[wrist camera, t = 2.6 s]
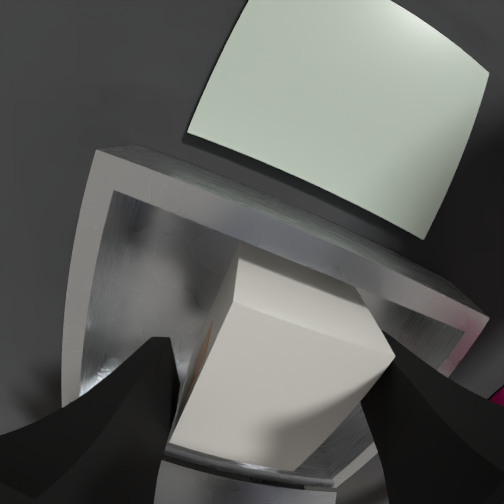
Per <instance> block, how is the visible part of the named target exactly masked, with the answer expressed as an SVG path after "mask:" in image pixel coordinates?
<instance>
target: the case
mask: <svg viewBox="0 0 504 504" xmlns="http://www.w3.org/2000/svg"><path fill="white" fill-rule="evenodd" d="M240 240H242V241H244V242H247V243H249V244H251V245H254V246H256V247H259V248H261V249H264V250H266V251H269V252H271V253H274V254H276V255H279V256H281V257H284V258H286V259H289V260H291V261H294V262H296V263H299V264H301V265H304V266H306V267H309V268H311V269H313V270H316V271H318V272H321V273H323V274H326V275H328V276H331V277H333V278H336V279H338V280H341V281H343V282H345V283H348V284H350V285H353V286H355V288H356V289H357V291H358V293H359V294H360V296H361V298H362V299H363V301H364V302H365V304H366V306H367V308H368V309H369V311H370V313H371V314H372V316H373V318H374V319H375V321H376V323H377V324H378V326H379V328H380V330H383V331H384V332H386V333H387V334H389V335H390V336H392V337H393V338H394V339H396V340H397V341H398V342H399V343H401V344H402V345H403V346H405V347H406V348H407V349H408V350H410V351H411V352H412V353H414V354H415V355H416V356H418V357H419V358H420V359H422V360H423V361H424V362H426V363H427V364H428V365H430V366H431V367H433V368H434V369H435V370H437V371H438V372H440V373H441V374H443V375H444V376H446V377H447V378H448V377H449V375H450V374H451V373H452V372H453V370H454V369H455V368H456V366H457V365H458V364H459V362H460V361H461V360H462V358H463V357H464V356H465V354H466V353H467V352H468V350H469V349H470V347H471V346H472V344H473V343H474V342H475V340H476V339H477V337H478V336H479V334H480V333H481V331H482V330H483V328H484V327H485V325H486V324H487V322H488V320H489V319H490V318H489V317H488V316H487V315H486V314H485V313H484V312H483V311H482V310H481V309H480V308H479V307H478V306H477V305H476V304H475V303H473V302H472V301H471V300H470V299H469V298H468V297H467V296H466V295H465V294H464V293H462V292H461V291H460V290H459V289H458V288H457V287H456V286H455V285H454V284H452V283H451V282H450V281H449V280H447V279H446V278H444V277H442V276H440V275H438V274H436V273H434V272H432V271H430V270H428V269H426V268H425V267H423V266H421V265H419V264H417V263H415V262H413V261H411V260H409V259H407V258H405V257H403V256H401V255H399V254H397V253H395V252H393V251H391V250H389V249H387V248H385V247H383V246H381V245H379V244H377V243H374V242H372V241H370V240H368V239H366V238H364V237H362V236H360V235H358V234H356V233H353V232H351V231H349V230H347V229H345V228H343V227H341V226H338V225H336V224H334V223H332V222H330V221H328V220H325V219H323V218H321V217H319V216H316V215H314V214H312V213H310V212H307V211H305V210H303V209H301V208H298V207H296V206H294V205H292V204H289V203H287V202H285V201H282V200H280V199H278V198H275V197H273V196H271V195H268V194H266V193H263V192H261V191H259V190H256V189H254V188H251V187H249V186H247V185H244V184H242V183H239V182H237V181H234V180H232V179H229V178H227V177H224V176H222V175H219V174H217V173H214V172H212V171H209V170H206V169H204V168H201V167H199V166H196V165H194V164H191V163H188V162H186V161H183V160H180V159H178V158H175V157H172V156H170V155H167V154H164V153H161V152H159V151H156V150H153V149H150V148H147V147H145V146H142V145H132V146H122V147H113V148H104V149H97V150H96V152H95V156H94V159H93V163H92V166H91V170H90V173H89V177H88V181H87V185H86V189H85V193H84V197H83V201H82V206H81V210H80V215H79V220H78V224H77V229H76V235H75V240H74V246H73V252H72V258H71V264H70V271H69V278H68V286H67V294H66V303H65V314H64V326H63V342H62V375H61V388H62V408H63V407H65V406H66V405H68V404H69V403H71V402H72V401H74V400H76V399H77V398H79V397H80V396H82V395H83V394H84V393H86V392H87V391H89V390H90V389H91V388H92V387H94V386H95V385H96V384H97V383H99V382H100V381H101V380H103V379H104V378H105V377H106V376H108V375H109V374H110V373H111V372H113V371H114V370H115V369H116V368H117V367H118V366H119V365H121V364H122V363H123V362H124V361H125V360H126V359H127V358H128V357H130V356H131V355H132V354H133V353H134V352H135V351H136V350H137V349H138V348H139V347H141V346H142V345H143V344H144V343H145V342H146V341H147V340H148V339H150V338H151V337H152V336H153V337H170V338H171V343H172V348H173V353H174V358H175V363H176V367H177V372H178V377H179V381H180V390H179V397H178V403H177V409H178V405H179V401H180V397H181V393H182V389H183V386H184V382H185V378H186V374H187V371H188V367H189V363H190V359H191V356H192V353H193V351H194V348H195V346H196V344H197V341H198V339H199V336H200V334H201V331H202V329H203V327H204V324H205V322H206V319H207V317H208V315H209V312H210V310H211V307H212V305H213V303H214V300H215V298H216V295H217V293H218V291H219V288H220V286H221V284H222V281H223V279H224V276H225V274H226V272H227V269H228V267H229V265H230V262H231V260H232V258H233V255H234V253H235V251H236V248H237V246H238V244H239V241H240ZM177 409H176V413H177ZM176 413H175V417H176ZM175 417H174V420H173V424H172V427H171V431H170V434H169V437H168V441H167V444H166V447H165V451H164V454H163V455H166V456H169V457H172V458H175V459H179V460H182V461H185V462H189V463H192V464H196V465H200V466H203V467H207V468H211V469H215V470H219V471H223V472H228V473H232V474H237V475H242V476H247V477H250V483H256V484H262V485H268V486H274V487H282V488H290V489H298V490H304V485H307V486H318V487H332V488H336V487H337V486H339V485H340V484H341V483H343V482H344V481H345V480H346V479H348V478H349V477H350V476H351V475H352V474H354V473H355V472H356V471H357V470H358V469H360V468H361V467H362V466H363V465H364V464H365V463H367V462H368V461H369V460H370V459H371V458H372V457H373V456H375V455H376V454H377V453H378V451H377V448H376V446H375V443H374V440H373V437H372V434H371V432H370V429H369V426H368V423H367V421H366V418H365V415H364V412H363V409H362V407H361V403H360V402H359V403H358V405H357V406H356V407H355V408H354V409H353V410H352V411H351V413H350V414H349V415H348V416H347V417H346V418H345V419H344V420H343V422H342V423H341V424H340V425H339V426H338V427H337V428H336V429H335V430H334V431H333V432H332V434H331V435H330V436H329V437H328V438H327V439H326V440H325V441H324V442H323V443H322V444H321V445H320V446H319V447H318V448H317V449H316V450H315V451H314V452H313V453H312V454H311V455H310V456H309V457H308V458H307V459H306V460H305V461H304V462H303V463H302V464H301V465H300V466H299V467H297V468H296V469H295V470H294V471H286V470H280V469H274V468H268V467H263V466H257V465H252V464H248V463H243V462H238V461H234V460H230V459H225V458H221V457H217V456H214V455H210V454H206V453H203V452H199V451H195V450H192V449H189V448H185V447H182V446H179V445H176V444H173V443H170V442H169V441H170V437H171V433H172V429H173V425H174V421H175Z"/></svg>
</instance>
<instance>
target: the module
mask: <svg viewBox="0 0 504 504" xmlns="http://www.w3.org/2000/svg"><path fill="white" fill-rule="evenodd" d="M394 358H395V354H394V353H393V351H392V349H391V347H390V345H389V344H388V342H387V340H386V338H385V337H384V335H383V333H382V331H381V330H380V328H379V326H378V324H377V323H376V321H375V319H374V318H373V316H372V314H371V313H370V311H369V309H368V308H367V306H366V304H365V302H364V301H363V299H362V298H361V296H360V294H359V293H358V291H357V289H356V288H355V286H353V285H350V284H348V283H345V282H343V281H341V280H338V279H336V278H333V277H331V276H328V275H326V274H323V273H321V272H318V271H316V270H313V269H311V268H309V267H306V266H304V265H301V264H299V263H296V262H294V261H291V260H289V259H286V258H284V257H281V256H279V255H276V254H274V253H271V252H269V251H266V250H264V249H261V248H259V247H256V246H254V245H251V244H249V243H247V242H244V241H242V240H240V241H239V244H238V246H237V248H236V251H235V253H234V255H233V258H232V260H231V262H230V265H229V267H228V269H227V272H226V274H225V276H224V279H223V281H222V284H221V286H220V288H219V291H218V293H217V295H216V298H215V300H214V303H213V305H212V307H211V310H210V312H209V315H208V317H207V319H206V322H205V324H204V327H203V329H202V331H201V334H200V336H199V339H198V341H197V344H196V346H195V348H194V351H193V353H192V356H191V359H190V363H189V367H188V371H187V374H186V378H185V382H184V386H183V389H182V393H181V397H180V401H179V405H178V409H177V413H176V417H175V421H174V425H173V429H172V433H171V437H170V441H169V442H170V443H173V444H176V445H179V446H182V447H185V448H189V449H192V450H195V451H199V452H203V453H206V454H210V455H214V456H217V457H221V458H225V459H230V460H234V461H238V462H243V463H248V464H252V465H257V466H263V467H268V468H274V469H280V470H286V471H294V470H295V469H296V468H297V467H299V466H300V465H301V464H302V463H303V462H304V461H305V460H306V459H307V458H308V457H309V456H310V455H311V454H312V453H313V452H314V451H315V450H316V449H317V448H318V447H319V446H320V445H321V444H322V443H323V442H324V441H325V440H326V439H327V438H328V437H329V436H330V435H331V434H332V432H333V431H334V430H335V429H336V428H337V427H338V426H339V425H340V424H341V423H342V422H343V420H344V419H345V418H346V417H347V416H348V415H349V414H350V413H351V411H352V410H353V409H354V408H355V407H356V406H357V405H358V403H359V402H360V401H361V400H362V399H363V397H364V396H365V395H366V394H367V393H368V391H369V390H370V389H371V388H372V386H373V385H374V384H375V383H376V381H377V380H378V379H379V378H380V376H381V375H382V374H383V372H384V371H385V370H386V369H387V367H388V366H389V365H390V363H391V362H392V361H393V359H394Z"/></svg>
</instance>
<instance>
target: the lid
mask: <svg viewBox="0 0 504 504" xmlns="http://www.w3.org/2000/svg"><path fill="white" fill-rule="evenodd" d="M336 494H337V492H320V491H308V490H298V489H290V488H282V487H274V486H268V485H262V484H256V483H250V482H245V481H240V480H235V479H230V478H226V477H221V476H217V475H213V474H209V473H205V472H201V471H197V470H193V469H190V468H186V467H183V466H179V465H176V464H173V463H170V462H167V461H163V460H162V461H161V464H160V468H159V473H158V477H157V483H156V490H155V497H154V504H335V501H336Z"/></svg>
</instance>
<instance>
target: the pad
mask: <svg viewBox="0 0 504 504" xmlns="http://www.w3.org/2000/svg"><path fill="white" fill-rule="evenodd" d="M488 76H489V73H488V72H487V71H486V70H485V69H484V68H483V67H482V66H481V65H480V64H478V63H477V62H476V61H475V60H474V59H473V58H471V57H470V56H469V55H468V54H467V53H465V52H464V51H463V50H462V49H461V48H459V47H458V46H457V45H455V44H454V43H453V42H452V41H450V40H449V39H448V38H446V37H445V36H444V35H442V34H441V33H440V32H438V31H437V30H435V29H434V28H433V27H431V26H430V25H428V24H427V23H425V22H424V21H422V20H421V19H419V18H418V17H416V16H415V15H413V14H412V13H410V12H408V11H407V10H405V9H404V8H402V7H400V6H399V5H397V4H395V3H394V2H392V1H390V0H249V1H248V3H247V5H246V7H245V8H244V10H243V12H242V14H241V16H240V18H239V20H238V22H237V24H236V25H235V27H234V29H233V31H232V33H231V35H230V37H229V39H228V41H227V43H226V45H225V47H224V49H223V51H222V54H221V56H220V58H219V60H218V62H217V64H216V66H215V68H214V71H213V73H212V75H211V77H210V79H209V81H208V84H207V86H206V88H205V90H204V93H203V95H202V97H201V100H200V102H199V104H198V107H197V109H196V111H195V114H194V116H193V119H192V121H191V124H190V126H189V128H188V131H187V132H188V133H190V134H193V135H196V136H199V137H201V138H204V139H207V140H209V141H212V142H215V143H217V144H220V145H222V146H225V147H228V148H230V149H233V150H235V151H238V152H240V153H243V154H245V155H248V156H250V157H252V158H255V159H257V160H260V161H262V162H264V163H267V164H269V165H271V166H274V167H276V168H278V169H281V170H283V171H285V172H288V173H290V174H292V175H294V176H297V177H299V178H301V179H303V180H306V181H308V182H310V183H312V184H314V185H316V186H319V187H321V188H323V189H325V190H327V191H329V192H331V193H333V194H336V195H338V196H340V197H342V198H344V199H346V200H348V201H350V202H352V203H354V204H356V205H358V206H360V207H362V208H364V209H366V210H368V211H370V212H372V213H374V214H376V215H378V216H380V217H382V218H383V219H385V220H387V221H389V222H391V223H393V224H395V225H397V226H399V227H400V228H402V229H404V230H406V231H408V232H410V233H411V234H413V235H415V236H417V237H419V238H420V239H422V240H424V238H425V236H426V234H427V232H428V230H429V228H430V226H431V224H432V222H433V220H434V218H435V216H436V214H437V212H438V210H439V208H440V206H441V203H442V201H443V199H444V197H445V195H446V192H447V190H448V188H449V186H450V183H451V181H452V179H453V176H454V174H455V172H456V169H457V167H458V164H459V162H460V159H461V157H462V154H463V152H464V149H465V147H466V144H467V141H468V138H469V136H470V133H471V130H472V127H473V124H474V122H475V119H476V116H477V113H478V110H479V106H480V103H481V100H482V97H483V93H484V90H485V87H486V83H487V80H488Z"/></svg>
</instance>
